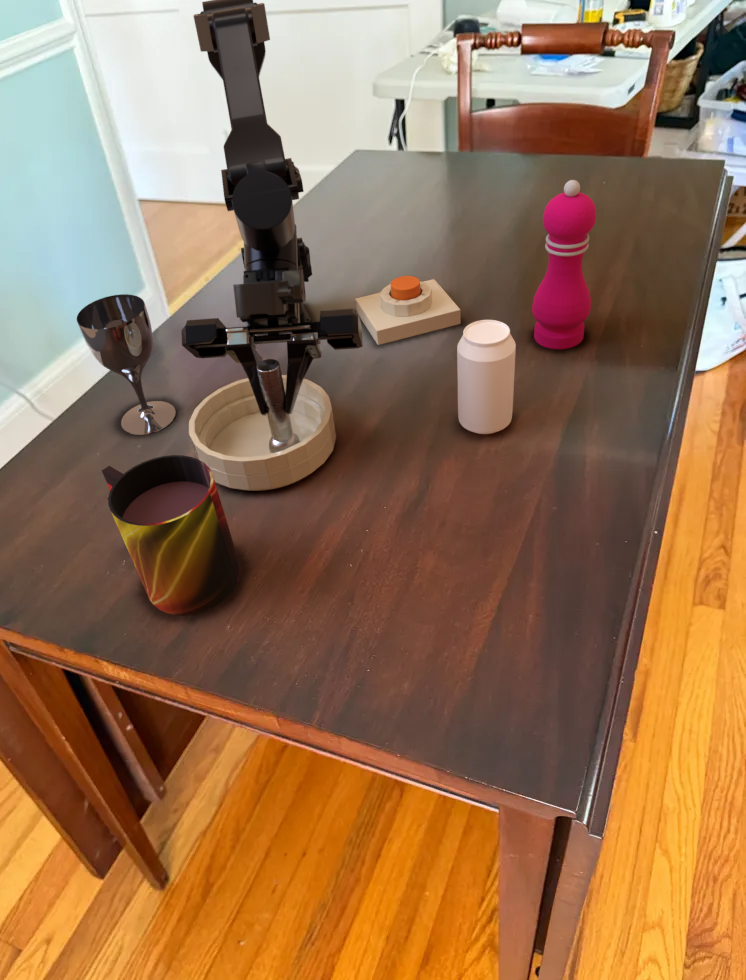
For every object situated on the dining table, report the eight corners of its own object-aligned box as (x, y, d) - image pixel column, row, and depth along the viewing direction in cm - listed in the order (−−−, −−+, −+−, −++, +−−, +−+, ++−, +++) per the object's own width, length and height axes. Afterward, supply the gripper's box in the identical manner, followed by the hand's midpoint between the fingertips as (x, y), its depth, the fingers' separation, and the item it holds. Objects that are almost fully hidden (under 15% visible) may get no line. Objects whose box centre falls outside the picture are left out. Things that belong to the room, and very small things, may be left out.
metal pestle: (265, 458, 89) (244, 365, 81) (291, 444, 91) (272, 351, 82) (283, 472, 87) (263, 379, 79) (309, 457, 89) (292, 364, 80)
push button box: (356, 312, 113) (353, 286, 110) (434, 292, 115) (433, 267, 112) (378, 345, 106) (375, 318, 103) (460, 324, 108) (460, 297, 105)
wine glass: (189, 402, 102) (157, 296, 91) (160, 440, 96) (122, 331, 86) (137, 396, 104) (99, 292, 93) (106, 433, 99) (62, 326, 88)
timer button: (387, 291, 109) (386, 279, 108) (414, 284, 109) (413, 273, 108) (396, 304, 106) (396, 292, 105) (424, 297, 107) (424, 285, 105)
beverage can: (507, 441, 88) (511, 348, 80) (453, 436, 90) (451, 345, 82) (515, 409, 92) (520, 317, 84) (463, 405, 94) (462, 315, 86)
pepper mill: (587, 352, 99) (607, 192, 85) (529, 351, 101) (538, 194, 87) (586, 322, 104) (605, 166, 90) (531, 322, 106) (540, 169, 92)
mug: (134, 535, 84) (97, 448, 76) (253, 549, 81) (229, 458, 72) (93, 603, 78) (47, 515, 70) (220, 621, 74) (188, 531, 66)
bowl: (189, 429, 97) (179, 395, 94) (317, 395, 99) (311, 361, 96) (210, 511, 86) (199, 476, 82) (354, 471, 88) (349, 436, 84)
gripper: (161, 246, 77) (166, 404, 76) (350, 231, 75) (356, 393, 75) (195, 285, 88) (199, 423, 88) (360, 273, 86) (365, 414, 86)
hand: (276, 414), depth 84 cm, fingers closed on metal pestle, 2 cm apart
